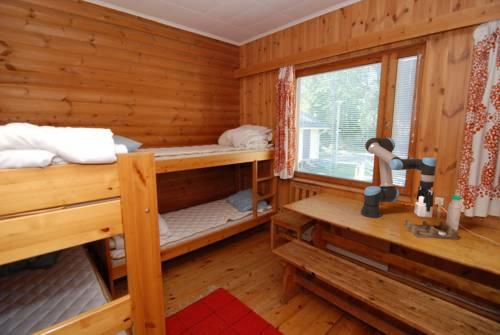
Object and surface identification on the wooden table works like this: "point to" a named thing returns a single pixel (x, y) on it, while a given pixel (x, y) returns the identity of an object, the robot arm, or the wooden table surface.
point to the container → (422, 207)
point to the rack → (431, 230)
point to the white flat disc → (441, 232)
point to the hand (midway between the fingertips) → (422, 213)
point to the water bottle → (454, 212)
